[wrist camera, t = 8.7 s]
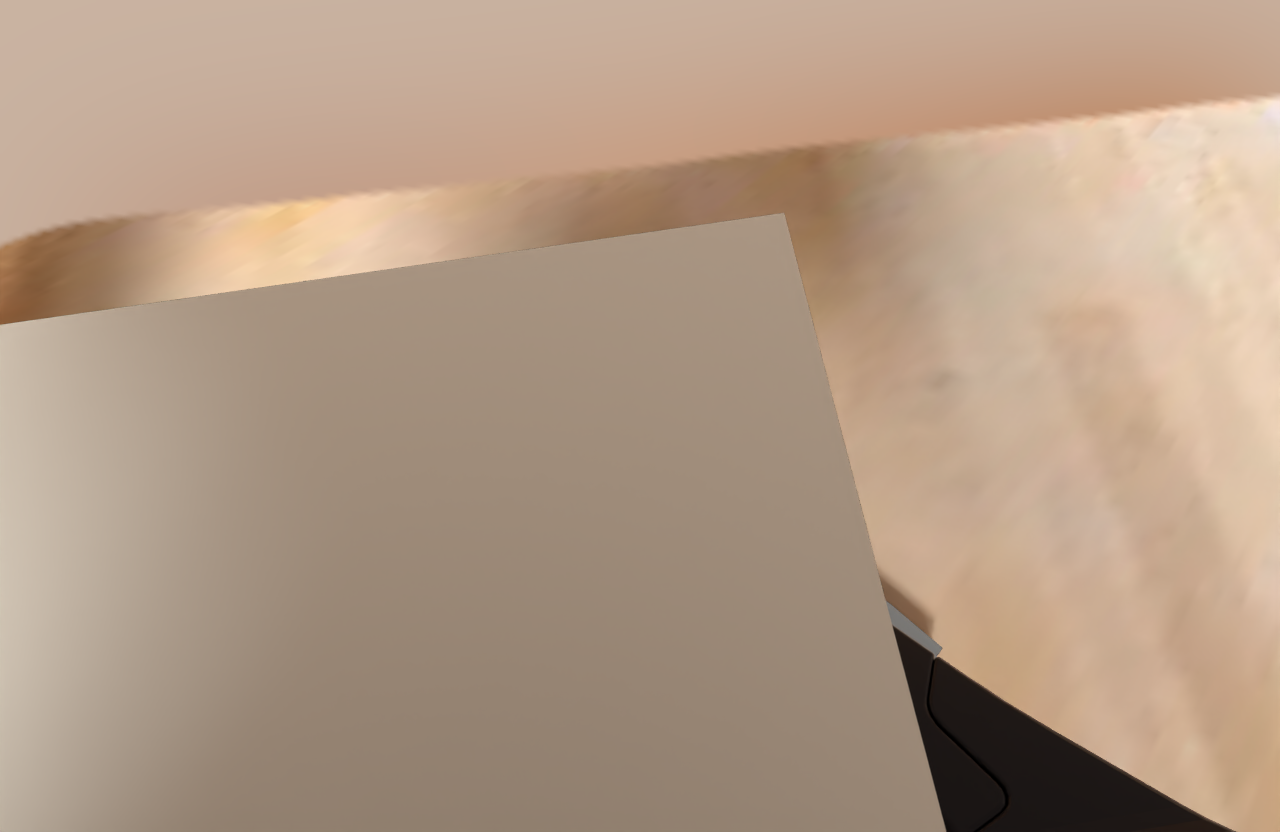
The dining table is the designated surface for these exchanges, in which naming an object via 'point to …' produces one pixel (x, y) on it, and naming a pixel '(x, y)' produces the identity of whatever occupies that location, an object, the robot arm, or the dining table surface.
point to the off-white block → (449, 557)
